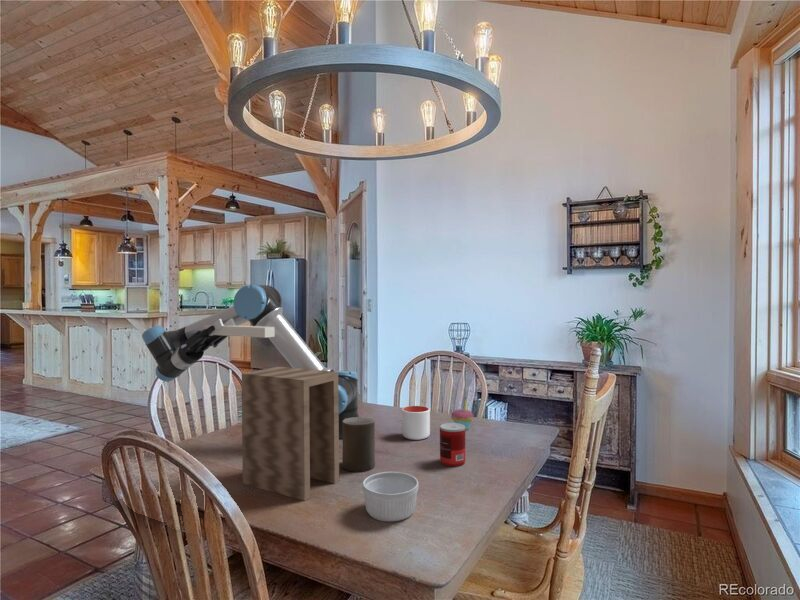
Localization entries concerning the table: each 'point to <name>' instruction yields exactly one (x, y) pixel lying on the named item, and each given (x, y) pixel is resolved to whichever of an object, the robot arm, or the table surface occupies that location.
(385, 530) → the table surface
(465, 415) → the cupcake
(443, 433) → the canned food
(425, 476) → the table surface
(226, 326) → the bar
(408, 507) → the ramekin
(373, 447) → the pillar candle
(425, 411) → the cup
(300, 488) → the stand
